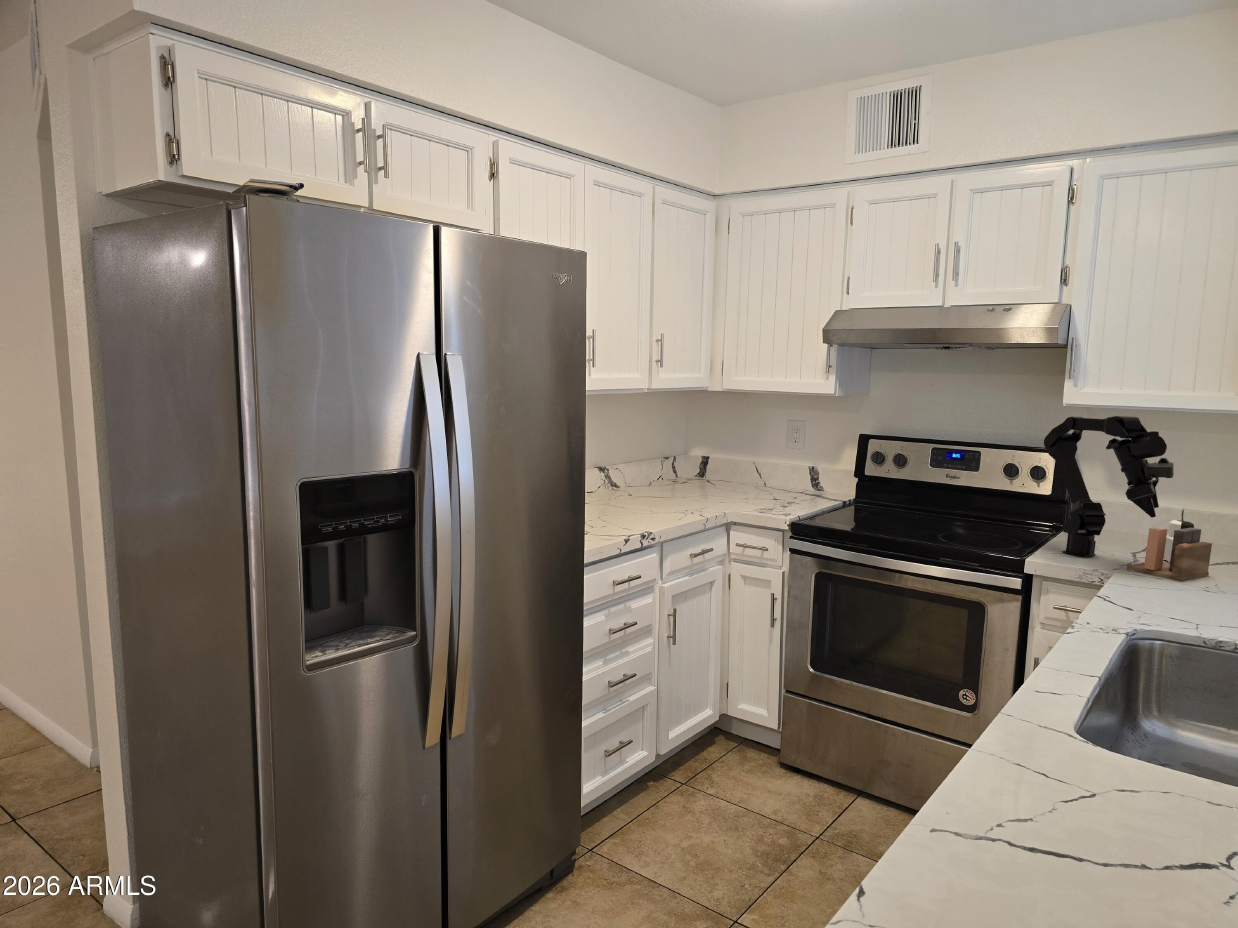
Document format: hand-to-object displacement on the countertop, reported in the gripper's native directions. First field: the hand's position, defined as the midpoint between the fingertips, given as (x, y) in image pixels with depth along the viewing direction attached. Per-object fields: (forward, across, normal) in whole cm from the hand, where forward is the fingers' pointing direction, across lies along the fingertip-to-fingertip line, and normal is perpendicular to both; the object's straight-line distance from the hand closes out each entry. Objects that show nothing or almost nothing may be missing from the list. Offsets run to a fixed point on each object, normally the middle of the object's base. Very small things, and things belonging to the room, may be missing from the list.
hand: (1155, 512), depth 222 cm
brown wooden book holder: (+16, -3, +3) cm, 17 cm away
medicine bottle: (+20, +16, +3) cm, 26 cm away
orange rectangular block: (+13, -6, +5) cm, 15 cm away
